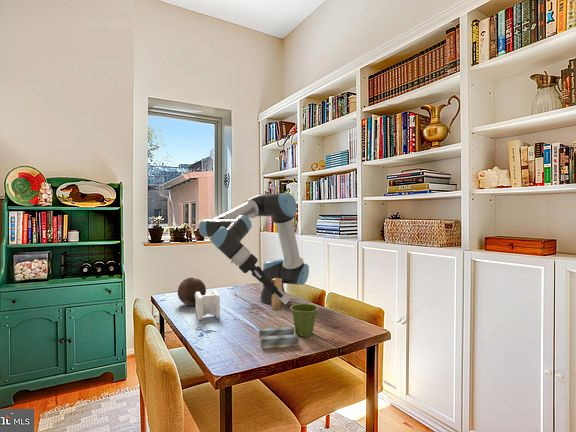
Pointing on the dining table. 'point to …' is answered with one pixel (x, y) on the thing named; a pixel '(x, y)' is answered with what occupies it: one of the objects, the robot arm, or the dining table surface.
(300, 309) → the plant pot
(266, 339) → the notch board
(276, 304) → the copper pin
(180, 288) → the wooden sphere
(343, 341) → the dining table surface
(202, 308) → the cable organizer
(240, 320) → the dining table surface
